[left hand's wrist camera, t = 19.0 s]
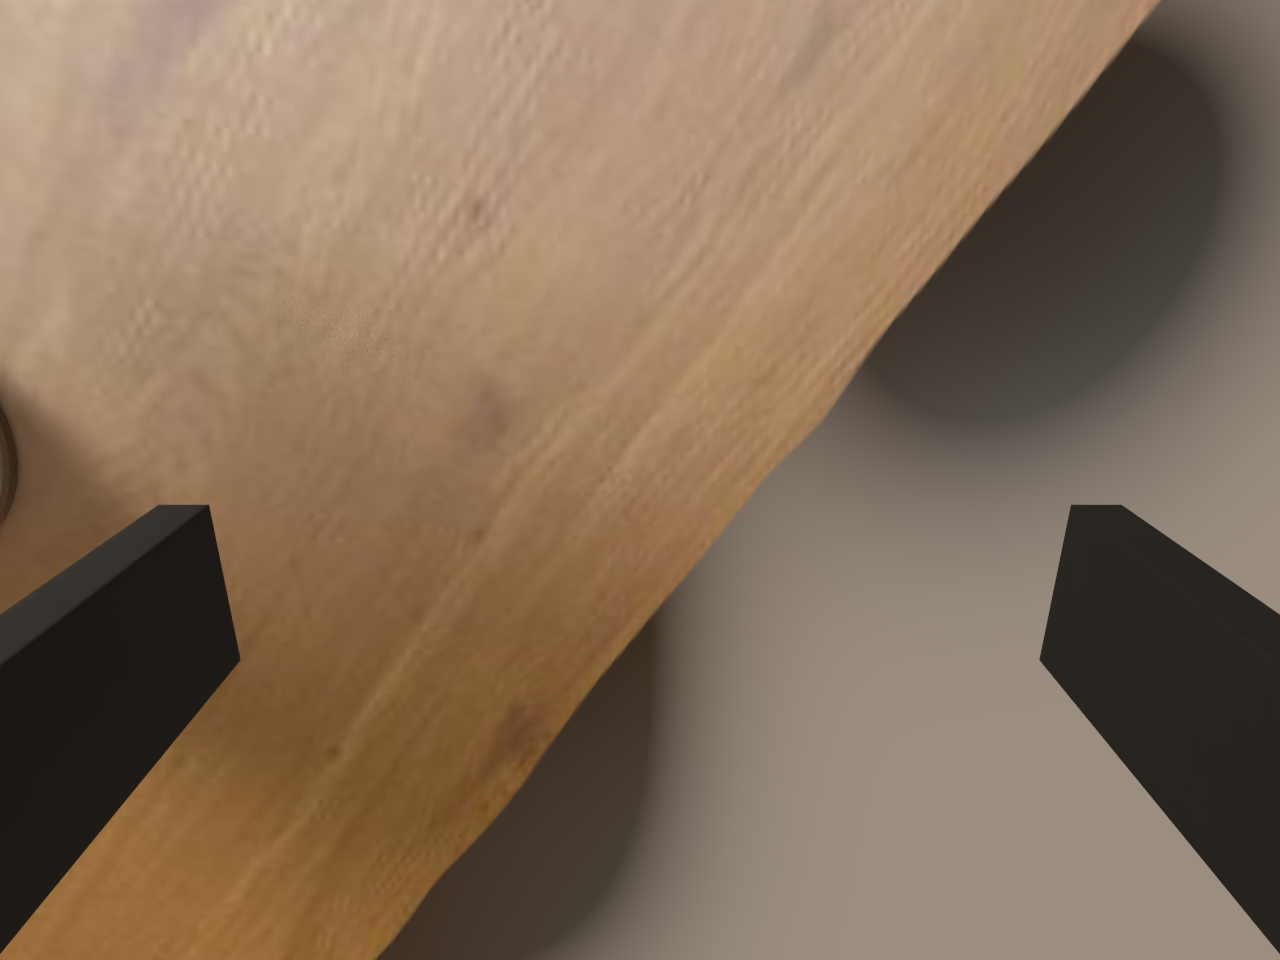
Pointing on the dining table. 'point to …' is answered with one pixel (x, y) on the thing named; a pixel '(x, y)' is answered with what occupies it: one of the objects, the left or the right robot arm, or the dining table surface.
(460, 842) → the dining table surface
